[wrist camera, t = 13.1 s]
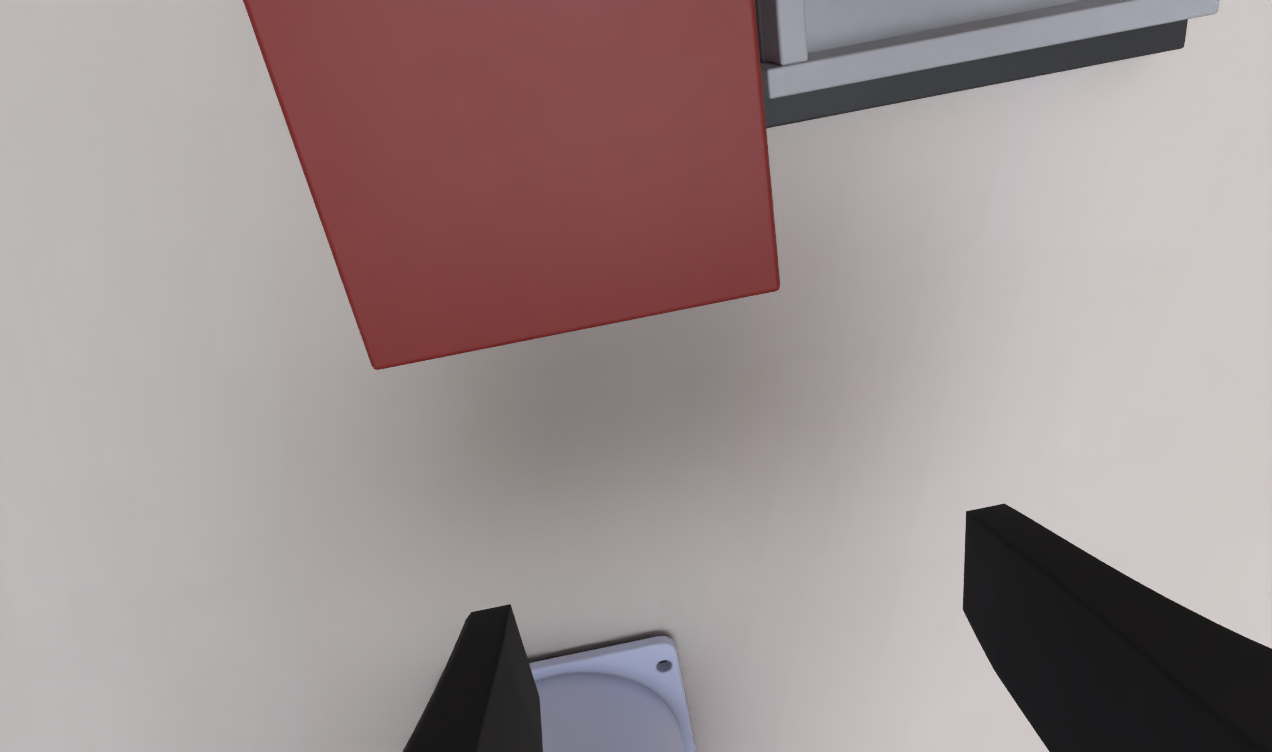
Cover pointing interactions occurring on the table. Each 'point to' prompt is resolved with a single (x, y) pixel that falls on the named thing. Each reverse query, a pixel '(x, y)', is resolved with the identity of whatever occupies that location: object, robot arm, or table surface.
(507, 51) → the coffee maker
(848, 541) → the table surface
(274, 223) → the table surface
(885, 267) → the table surface
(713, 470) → the table surface
